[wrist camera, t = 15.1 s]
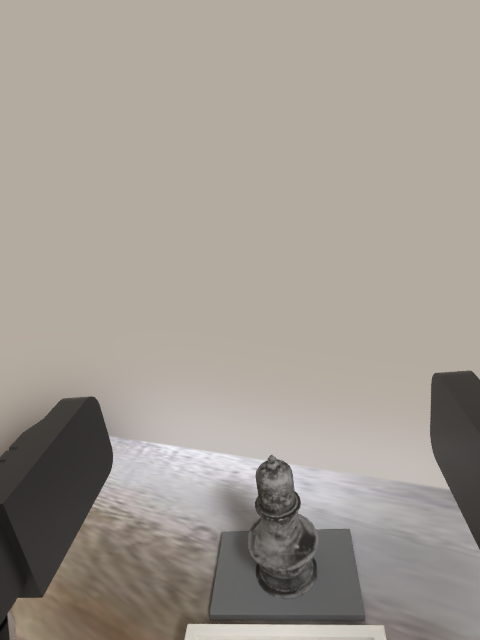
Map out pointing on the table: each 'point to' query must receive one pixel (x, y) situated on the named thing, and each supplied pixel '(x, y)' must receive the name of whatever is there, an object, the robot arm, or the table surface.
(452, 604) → the table surface
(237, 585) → the rubber mat
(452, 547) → the table surface
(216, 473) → the table surface
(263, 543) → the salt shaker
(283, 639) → the frame
